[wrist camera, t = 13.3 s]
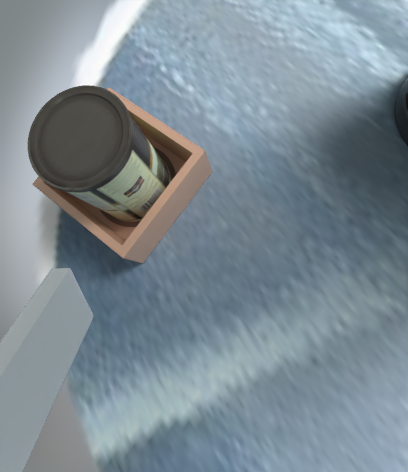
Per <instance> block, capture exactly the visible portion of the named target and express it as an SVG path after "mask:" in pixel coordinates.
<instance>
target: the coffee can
mask: <svg viewBox="0 0 408 472" xmlns="http://www.w3.org/2000/svg"><path fill="white" fill-rule="evenodd" d="M28 154H29V159H30V162H31V164H32V167H33V169H34V170H35V172H36V173H37V175H38V176H39V177H40V178H41V179H42V180H43V181H44V182H46V183H47V184H49V185H51V186H53V187H55V188H57V189H59V190H62V191H66V192H68V193H70V194H71V195H73V196H75V197H77V198H79V199H81V200H83V201H85V202H87V203H89V204H91V205H93V206H95V207H97V208H99V209H101V210H103V211H105V212H107V213H109V214H110V215H112V216H113V217H115V218H117V219H119V220H122V221H127V222H138V221H141V220H142V219H143V218H144V216H145V215H146V214H147V212H148V211H149V210H150V209H151V207H152V206H153V205H154V203H155V202H156V201H157V199H158V198H159V197H160V195H161V194H162V193H163V192H164V190H165V189H166V188H167V186H168V185H169V184H170V182H171V175H170V171H169V169H168V166H167V164H166V163H165V162H164V160H163V159H162V158H161V157H160V156H159V154H158V153H157V152H156V150H155V149H154V148H153V146H152V145H151V144H150V142H149V141H148V139H147V138H146V137H145V135H144V134H143V132H142V131H141V130H140V128H139V127H138V125H137V124H136V122H135V121H134V120H133V119H132V117H131V116H130V114H129V111H128V110H127V108H126V106H125V105H124V103H123V102H122V101H121V100H120V99H119V98H118V97H117V96H116V95H115V94H114V93H112V92H110V91H109V90H106V89H104V88H101V87H96V86H78V87H73V88H70V89H67V90H65V91H63V92H61V93H59V94H57V95H56V96H55V97H53V98H52V99H51V100H49V101H48V102H47V103H46V104H45V105H44V106H43V107H42V109H41V110H40V111H39V113H38V114H37V116H36V117H35V120H34V122H33V123H32V126H31V129H30V132H29V137H28Z"/></svg>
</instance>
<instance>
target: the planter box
mask: <svg viewBox="0 0 408 472" xmlns="http://www.w3.org/2000/svg"><path fill="white" fill-rule="evenodd" d="M107 90H109V91H110V92H112V93H114V94H115V95H116V96H117V97H118V98H119V99H120V100H121V101H122V102H123V103H124V105H125V106H126V108H127V110H128V111H129V114H130V116H131V117H132V119H133V120H134V121H135V122H136V124H137V125H138V127H139V128H140V130H141V131H142V132H143V134H144V135H145V137H146V138H147V139H148V141H149V142H150V144H151V145H152V146H153V148H154V149H155V150H156V152H157V153H158V154H159V156H160V157H161V158H162V159H163V160H164V162H165V163H166V164H167V166H168V169H169V171H170V175H171V182H170V184H169V185H168V186H167V188H166V189H165V190H164V192H163V193H162V194H161V195H160V197H159V198H158V199H157V201H156V202H155V203H154V205H153V206H152V207H151V209H150V210H149V211H148V212H147V214H146V215H145V216H144V218H143V219H142V220H141V221H138V222H127V221H122V220H119V219H117V218H115V217H113V216H112V215H110V214H109V213H107V212H105V211H103V210H101V209H99V208H97V207H95V206H93V205H91V204H89V203H87V202H85V201H83V200H81V199H79V198H77V197H75V196H73V195H71V194H70V193H68V192H66V191H62V190H59V189H57V188H55V187H53V186H51V185H49V184H47V183H46V182H44V181H43V180H42V179H41V178H40V177H38V178H37V179H36V180H35V182H34V183H33V185H34V186H35V187H36V188H38V189H39V190H40V191H41V192H43V193H44V194H45V195H46V196H47V197H49V198H50V199H51V200H52V201H54V202H55V203H56V204H57V205H58V206H60V207H61V208H62V209H63V210H65V211H66V212H67V213H68V214H69V215H71V216H72V217H73V218H74V219H76V220H77V221H78V222H79V223H80V224H82V225H83V226H84V227H85V228H87V229H88V230H89V231H90V232H92V233H93V234H94V235H95V236H96V237H98V238H99V239H100V240H101V241H103V242H104V243H105V244H106V245H107V246H109V247H110V248H111V249H112V250H114V251H115V252H116V253H117V254H118V255H120V256H121V257H122V258H124V259H128V260H132V261H136V262H140V263H144V262H145V260H146V259H147V258H148V256H149V255H150V254H151V252H152V251H153V250H154V248H155V247H156V246H157V244H158V243H159V242H160V241H161V239H162V238H163V237H164V235H165V234H166V233H167V231H168V230H169V229H170V227H171V226H172V225H173V223H174V222H175V221H176V219H177V218H178V217H179V215H180V214H181V213H182V212H183V210H184V209H185V208H186V206H187V205H188V204H189V202H190V201H191V200H192V198H193V197H194V196H195V194H196V193H197V192H198V190H199V189H200V188H201V186H202V185H203V184H204V183H205V181H206V180H207V179H208V177H209V176H210V175H211V173H212V169H211V166H210V163H209V160H208V158H207V155H206V152H205V150H203V149H202V148H200V147H199V146H197V145H195V144H194V143H192V142H191V141H189V140H188V139H186V138H185V137H183V136H182V135H180V134H179V133H177V132H176V131H174V130H173V129H171V128H170V127H168V126H167V125H165V124H164V123H162V122H161V121H159V120H158V119H156V118H155V117H153V116H152V115H150V114H149V113H147V112H146V111H144V110H143V109H141V108H140V107H138V106H136V105H135V104H133V103H132V102H130V101H129V100H127V99H126V98H124V97H123V96H121V95H120V94H118V93H117V92H115V91H114V90H112V89H111V88H108V89H107Z"/></svg>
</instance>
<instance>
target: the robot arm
mask: <svg viewBox="0 0 408 472" xmlns="http://www.w3.org/2000/svg"><path fill="white" fill-rule="evenodd" d="M395 119H396V124H397V127H398V130H399V132H400V134H401V136H402V138H403V139H404V141H405V142H406V143H407V144H408V77H407V79H406V80H405V81H404V83H403V84H402V86H401V88H400V90H399V92H398V95H397V98H396V103H395ZM93 317H94V315H93V313H92V311H91V309H90V307H89V305H88V303H87V301H86V299H85V297H84V295H83V293H82V291H81V289H80V287H79V285H78V283H77V281H76V279H75V277H74V275H73V273H72V271H71V269H70V268H59V269H51V271H50V272H49V273H48V275H47V276H46V278H45V279H44V281H43V282H42V283H41V285H40V286H39V288H38V289H37V291H36V292H35V293H34V295H33V296H32V298H31V299H30V301H29V302H28V303H27V305H26V306H25V308H24V309H23V310H22V312H21V313H20V315H19V316H18V318H17V319H16V320H15V322H14V323H13V325H12V326H11V328H10V329H9V330H8V332H7V333H6V335H5V336H4V338H3V339H2V340H1V342H0V472H23V470H24V468H25V465H26V463H27V461H28V459H29V457H30V454H31V452H32V450H33V448H34V446H35V444H36V441H37V439H38V437H39V435H40V433H41V430H42V428H43V426H44V424H45V421H46V419H47V417H48V415H49V413H50V411H51V409H52V407H53V404H54V402H55V400H56V398H57V396H58V393H59V391H60V389H61V387H62V385H63V383H64V380H65V378H66V376H67V374H68V372H69V369H70V367H71V365H72V363H73V361H74V359H75V356H76V354H77V352H78V350H79V348H80V345H81V343H82V341H83V339H84V337H85V335H86V332H87V330H88V328H89V326H90V324H91V321H92V319H93Z"/></svg>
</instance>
